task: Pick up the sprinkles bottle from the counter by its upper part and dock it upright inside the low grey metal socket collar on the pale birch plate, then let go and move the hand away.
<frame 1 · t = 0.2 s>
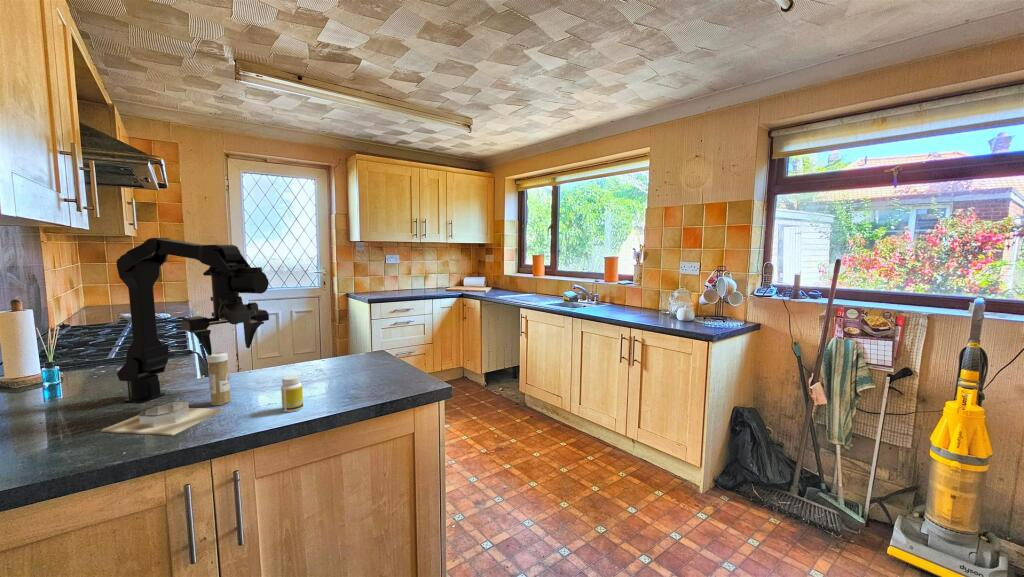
hand: (229, 351, 111), 14 cm above the countertop, tool pointing down, fingers open, 9 cm apart
sprinkles bottle: (221, 403, 112), on the countertop
dock plate: (165, 420, 101), on the countertop
supplement bottle: (293, 409, 108), on the countertop
socket collar: (165, 414, 101), on the dock plate
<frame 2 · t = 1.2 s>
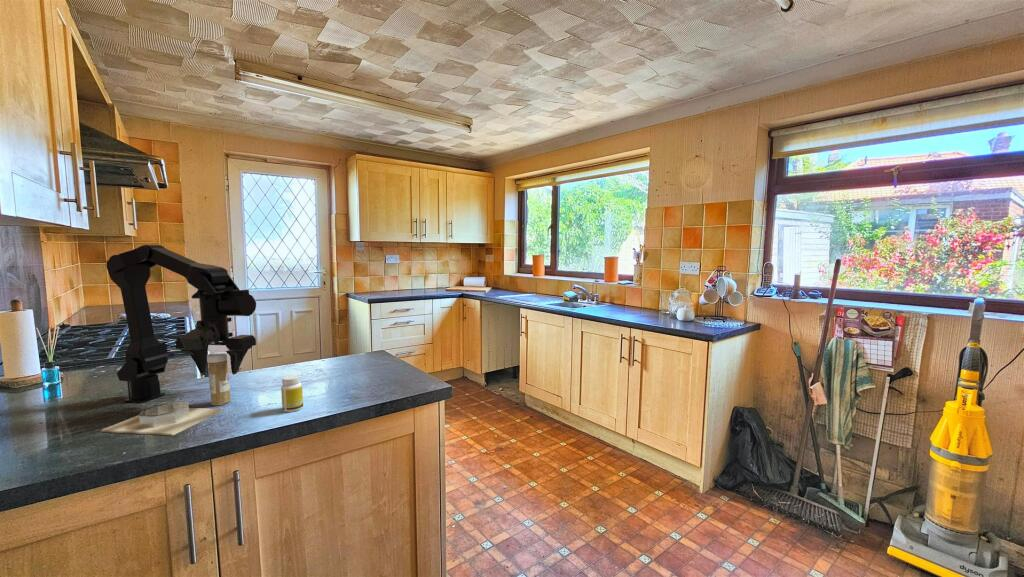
hand: (218, 373, 112), 8 cm above the countertop, tool pointing down, fingers open, 9 cm apart
nothing on the countertop moved.
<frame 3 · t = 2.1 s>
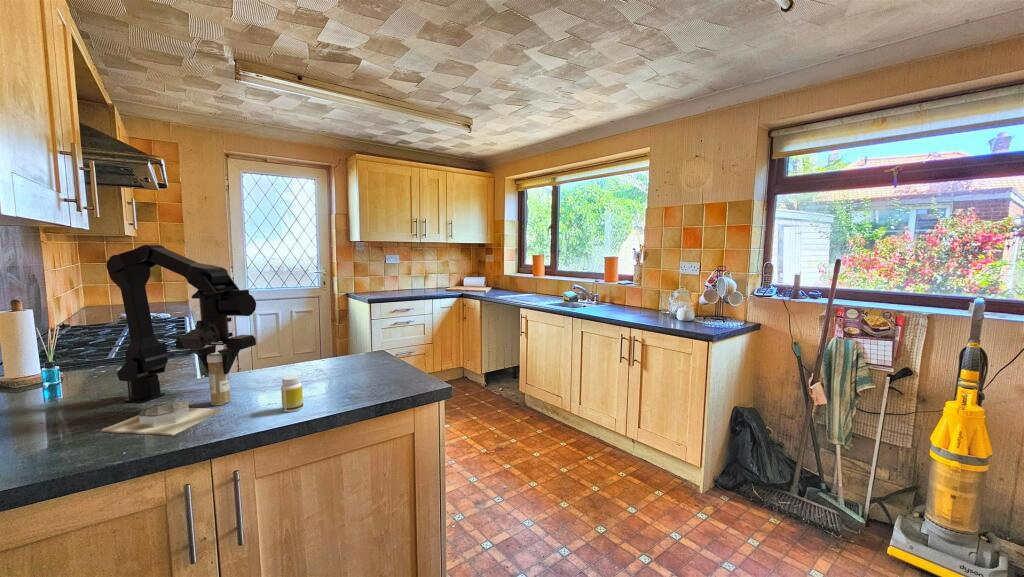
hand: (218, 373, 112), 8 cm above the countertop, tool pointing down, fingers closed on sprinkles bottle, 4 cm apart
sprinkles bottle: (221, 403, 112), on the countertop, touching gripper
everything else where it was.
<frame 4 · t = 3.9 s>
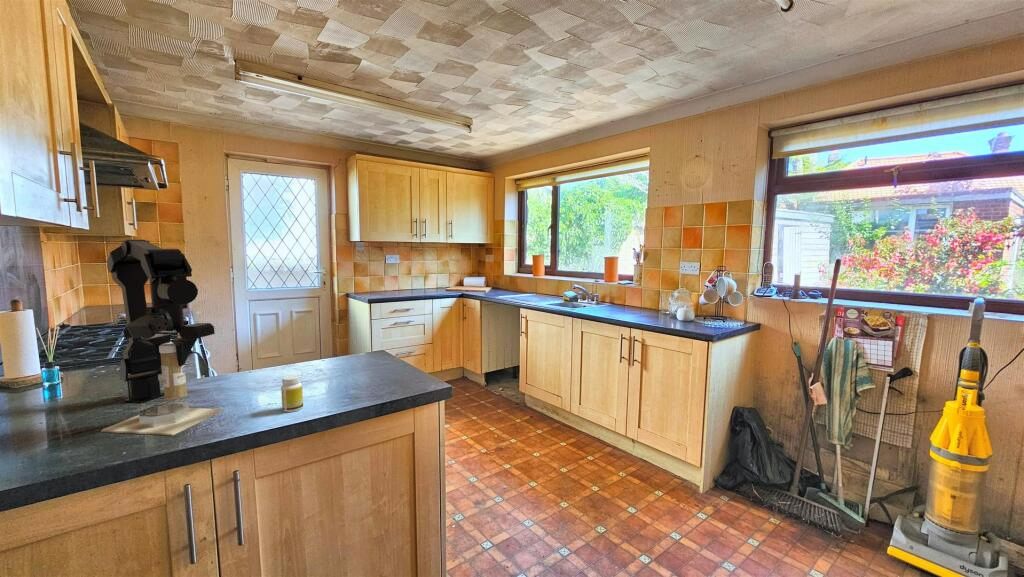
hand: (172, 365, 102), 13 cm above the countertop, tool pointing down, fingers closed on sprinkles bottle, 4 cm apart
sprinkles bottle: (175, 398, 103), point 5 cm above the countertop, touching gripper
everything else where it was.
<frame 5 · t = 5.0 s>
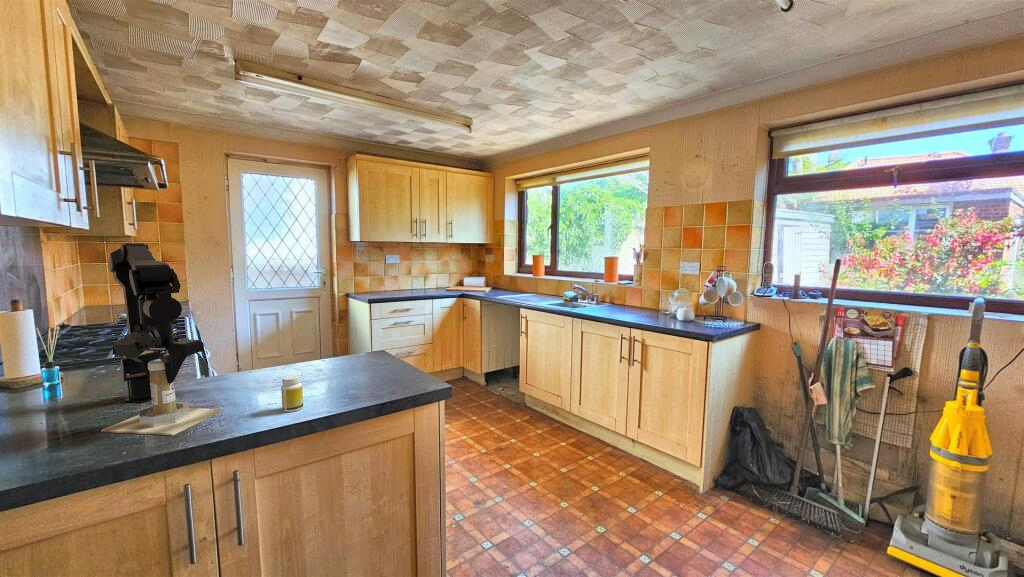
hand: (162, 382, 100), 9 cm above the countertop, tool pointing down, fingers closed on sprinkles bottle, 4 cm apart
sprinkles bottle: (165, 415, 101), point 1 cm above the countertop, touching gripper
everything else where it was.
when the fingers open (9 cm above the countertop, at t = 6.0 s): sprinkles bottle stays where it is, resting on dock plate.
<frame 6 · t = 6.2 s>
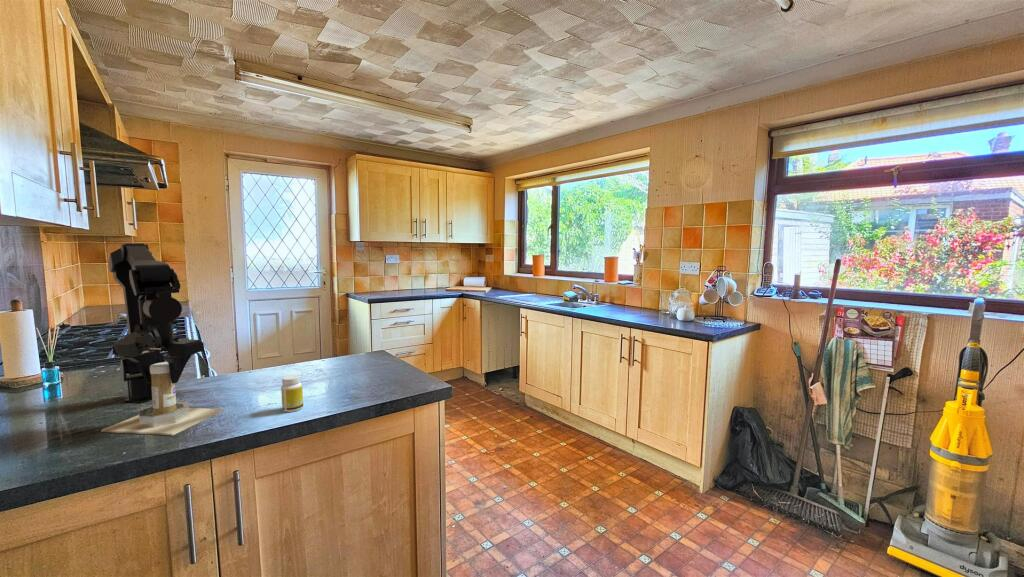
hand: (162, 382, 100), 9 cm above the countertop, tool pointing down, fingers open, 6 cm apart
sprinkles bottle: (165, 419, 101), resting on dock plate
everything else where it was.
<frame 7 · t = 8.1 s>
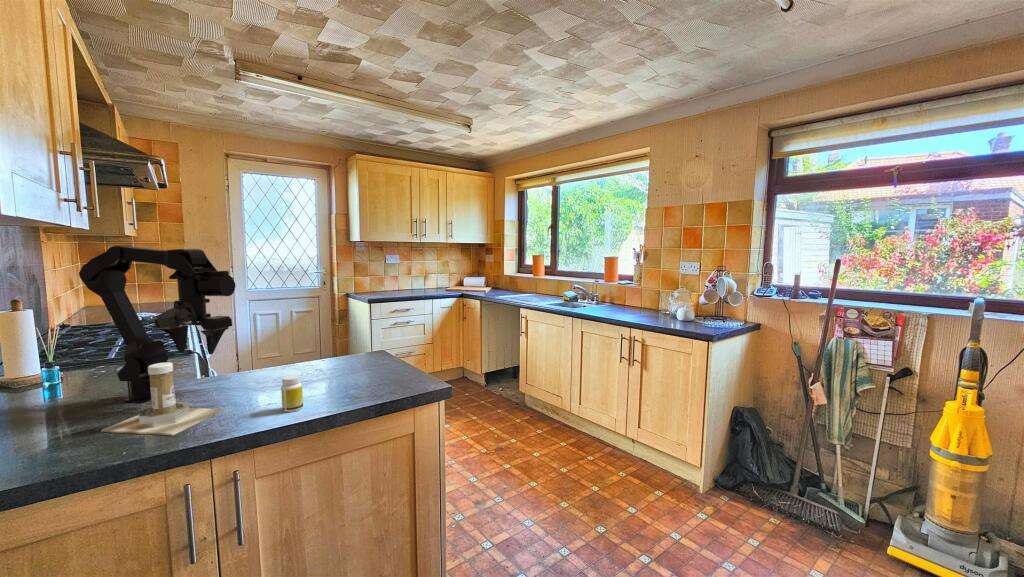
hand: (196, 353, 114), 13 cm above the countertop, tool pointing down, fingers open, 9 cm apart
nothing on the countertop moved.
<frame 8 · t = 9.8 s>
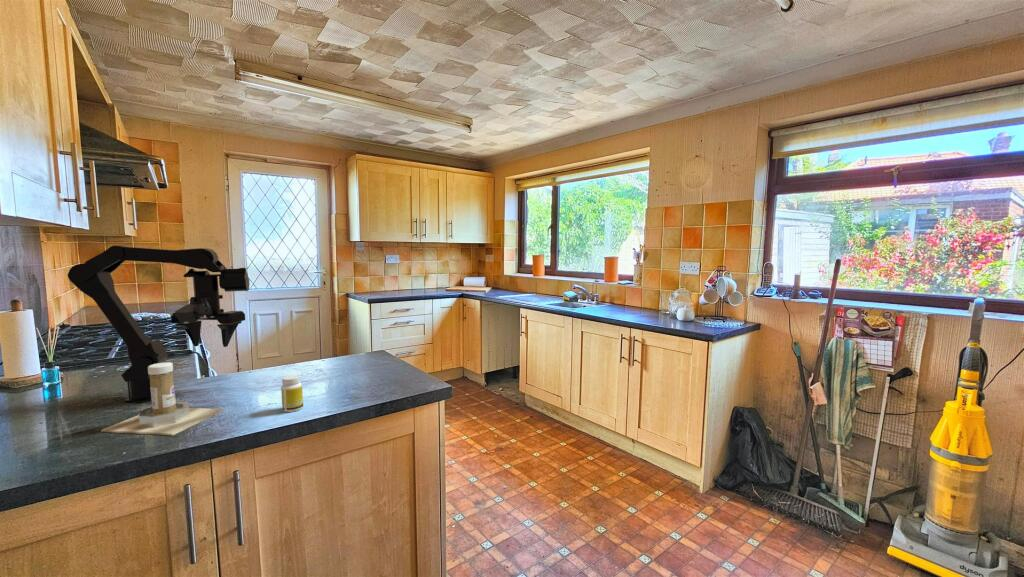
hand: (210, 346, 121), 13 cm above the countertop, tool pointing down, fingers open, 9 cm apart
nothing on the countertop moved.
at the end: sprinkles bottle 0.1 cm off-centre on the dock plate, point 0.2 cm above the dock plate's base; sprinkles bottle tilted 0°; the gripper is holding nothing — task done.
